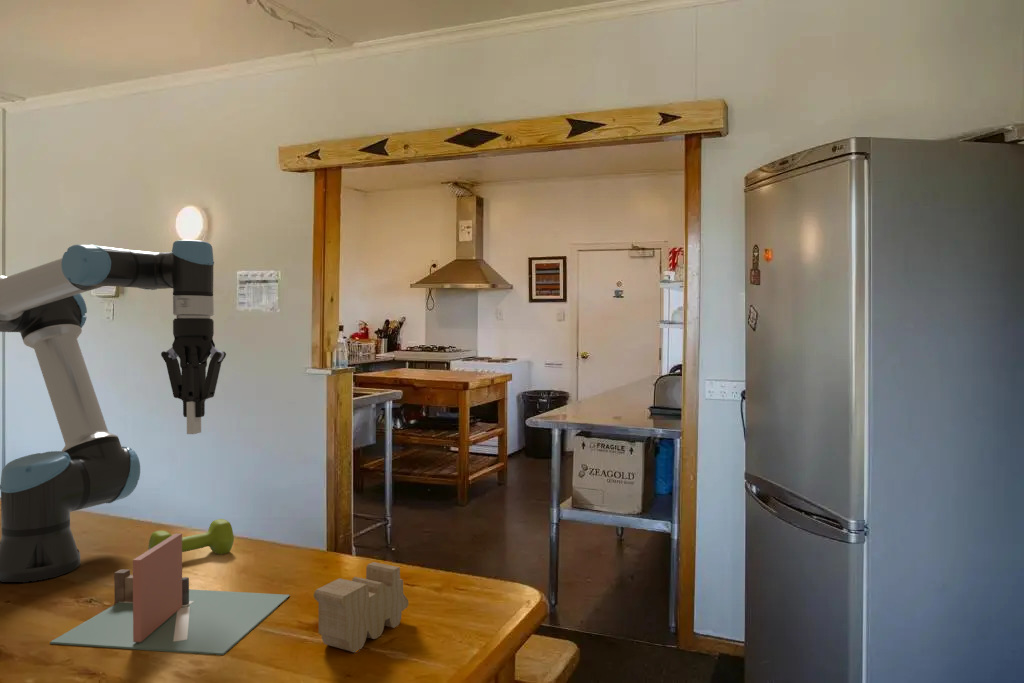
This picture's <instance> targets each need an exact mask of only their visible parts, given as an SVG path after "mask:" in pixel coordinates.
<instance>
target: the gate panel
mask: <svg viewBox="0 0 1024 683" xmlns="http://www.w3.org/2000/svg"><path fill="white" fill-rule="evenodd" d="M171 535H172V536H170V537H169V538H167V539H166V540H164V541H162V542H161V543H159V544H158V545H156V546H154V547H153V548H151V549H150V550H146V551H145V552H143V553H142V554H140V555H138V556H136V557H135V558H134V559H132V575H133V642H142V641H143V640H144V639H145V638H146V637H147V636H149V635H150V634H151V633H152V632H153V631H154V630H156V629H157V628H158V627H159V626H160V625H161V624H163V623H164V622H165V621H166V620H167V619H168V618H170V617H171V616H172V615H173V614H174V613H175V612H176V611H178V610H179V609H180V608H181V607H182V578H183V552H182V537H183V534H182V533H174V534H171Z"/></svg>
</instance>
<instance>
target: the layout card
mask: <svg viewBox="0 0 1024 683" xmlns="http://www.w3.org/2000/svg"><path fill="white" fill-rule="evenodd" d="M289 596H290V597H291V595H290V594H281V593H280V594H279V593H277V594H276V593H265V592H264V593H261V592H246V591H244V592H243V591H227V590H207V589H206V590H205V589H192V588H191V589H190V588H189V604H186V605H182V607H181V608H180V609H179V610H178V611H176V612H175V613H174V614H173V615H172V616H171V617H170V618H168V619H167V620H166V621H165V622H164V623H163V624H161V625H160V626H159V627H158V628H157V629H156V630H154V631H153V632H152V633H151V634H150V635H149V636H147V637H146V638H145V639H144V640H143V641H142V642H133V602H118V603H114V604H113V605H112V606H109V607H107V609H104V610H103V611H101V612H98V614H96V615H94V616H93V617H91V618H89V619H88V620H85V621H83V622H81V623H80V624H77V626H75V627H73V628H71V629H70V630H69V631H66V632H64V633H63V634H62V635H60V636H58V637H56V638H55V639H52V640H51V641H50V643H49V644H50V645H63V646H78V647H79V646H80V647H92V648H93V647H96V648H111V649H121V650H122V649H123V650H124V649H125V650H127V649H128V650H137V651H138V650H140V651H141V650H142V651H153V652H155V651H157V652H168V653H169V652H170V653H184V654H197V653H198V654H199V655H212V654H216V656H224V655H225V654H227V652H229V651H230V650H231V649H232V648H233V647H234V646H235V645H236V644H238V643H239V642H240V641H241V640H242V639H243V638H244V637H246V636H247V635H248V634H249V633H250V632H251V631H252V630H253V629H255V628H256V627H257V626H258V625H259V624H260V623H262V621H264V620H265V619H266V618H268V617H269V616H270V615H271V614H272V613H273V612H274V611H275V610H276V609H278V608H279V607H280V606H281V605H282V604H283V603H284V602H285V601H287V600H288V599H289V598H290V597H289ZM288 597H289V598H288ZM287 598H288V599H287ZM284 600H285V601H284ZM283 601H284V602H283ZM282 602H283V603H282ZM281 603H282V604H281ZM280 604H281V605H280ZM279 605H280V606H279ZM278 606H279V607H278ZM198 654H197V655H198Z"/></svg>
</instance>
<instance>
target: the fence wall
mask: <svg viewBox="0 0 1024 683" xmlns="http://www.w3.org/2000/svg"><path fill="white" fill-rule="evenodd" d="M113 576H114V579H113V580H114V583H113V584H114V586H113V587H114V604H117V603H118V602H133V574H131V569H119V570H117V571H115V572H114V574H113ZM189 589H190V578H189V577H186V576H185V577H183V576H182V605H186V604H189Z"/></svg>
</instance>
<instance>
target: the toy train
mask: <svg viewBox="0 0 1024 683" xmlns="http://www.w3.org/2000/svg"><path fill="white" fill-rule="evenodd" d="M365 570H366V573H365V575H366V576H365V578H363V577H358V576H354V577H352V578H351V580H349V579H346V578H345V579H344V578H337V579H335V580H332V581H331V582H329V583H326V584H325V585H323V586H322V585H321V587H319V588H316V589H315V591H313V592H314V593H313V598H314V599H315V601H316V602H318V634H319V635H321V639H322V643H323V644H325V645H327V646H330V647H332V648H337V649H341V650H344V651H346V652H352V653H357V652H356V651H357V650H359V649H361V650H362V648H363V647H364V646H365V642H366V641H367V638H369V639H372V640H375V639H378V638H379V637H380V636H381V635H382V634H383V631H384V628H385V626H386V627H389V628H395V627H396V626H397V627H398V626H399V625H400V623H401V620H402V614H403V613H402V612H403V611H404V610H406V609H407V608H408V607H409V600H408V598H407V597H406V595H405V594H404V579H402V578H401V568H400V566H395V565H391V564H386V563H380V562H377V561H372V562H370V563H368V564H367V565H366V568H365ZM397 627H396V628H397ZM396 628H395V629H396ZM359 651H360V650H359Z"/></svg>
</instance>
